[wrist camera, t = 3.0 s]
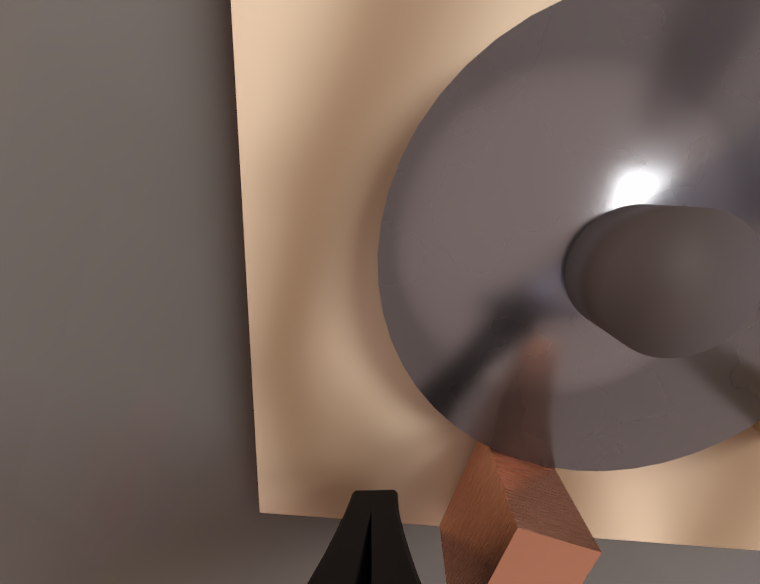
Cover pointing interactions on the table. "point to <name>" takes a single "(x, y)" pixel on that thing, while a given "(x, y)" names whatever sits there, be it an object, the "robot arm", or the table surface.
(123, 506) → the table surface
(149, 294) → the table surface
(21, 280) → the table surface
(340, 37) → the base plate
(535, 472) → the flange
